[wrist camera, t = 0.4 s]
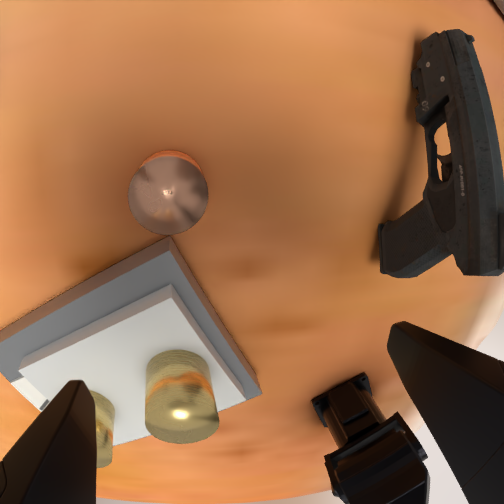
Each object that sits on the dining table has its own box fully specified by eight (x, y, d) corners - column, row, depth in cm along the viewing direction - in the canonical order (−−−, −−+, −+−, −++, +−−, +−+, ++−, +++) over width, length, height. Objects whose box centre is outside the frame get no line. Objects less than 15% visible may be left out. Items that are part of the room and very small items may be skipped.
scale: (255, 374, 28) (267, 407, 24) (94, 433, 27) (91, 463, 24) (169, 235, 21) (169, 262, 17) (-8, 335, 21) (-24, 365, 17)
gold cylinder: (126, 415, 22) (124, 462, 18) (87, 427, 22) (82, 471, 18) (89, 381, 20) (81, 431, 16) (51, 396, 20) (39, 441, 16)
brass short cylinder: (220, 379, 22) (231, 429, 18) (168, 400, 22) (171, 449, 18) (189, 339, 20) (196, 392, 16) (133, 364, 20) (129, 416, 16)
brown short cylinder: (215, 198, 21) (221, 212, 18) (155, 229, 21) (152, 247, 18) (185, 137, 19) (186, 142, 16) (122, 171, 19) (113, 181, 16)
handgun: (374, 276, 24) (504, 286, 13) (368, 80, 25) (460, 14, 13) (396, 276, 25) (521, 285, 13) (388, 87, 25) (480, 28, 14)
